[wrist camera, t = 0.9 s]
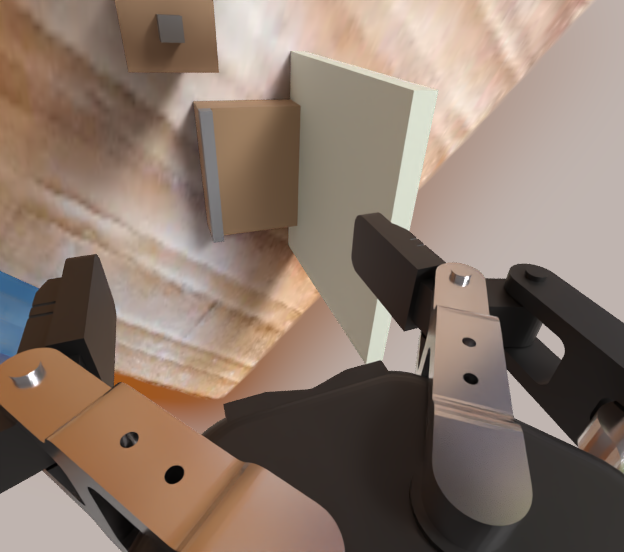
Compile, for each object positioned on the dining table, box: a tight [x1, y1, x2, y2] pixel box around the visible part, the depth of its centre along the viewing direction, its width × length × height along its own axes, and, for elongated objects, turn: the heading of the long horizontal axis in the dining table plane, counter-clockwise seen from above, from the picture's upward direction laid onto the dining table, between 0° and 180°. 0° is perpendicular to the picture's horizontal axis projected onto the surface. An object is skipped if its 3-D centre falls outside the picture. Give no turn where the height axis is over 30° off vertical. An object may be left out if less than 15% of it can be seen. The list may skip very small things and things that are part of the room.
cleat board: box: [193, 51, 438, 364], centre depth 32 cm, size 20×10×20 cm, turn 177°
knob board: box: [115, 0, 219, 73], centre depth 26 cm, size 4×5×14 cm
